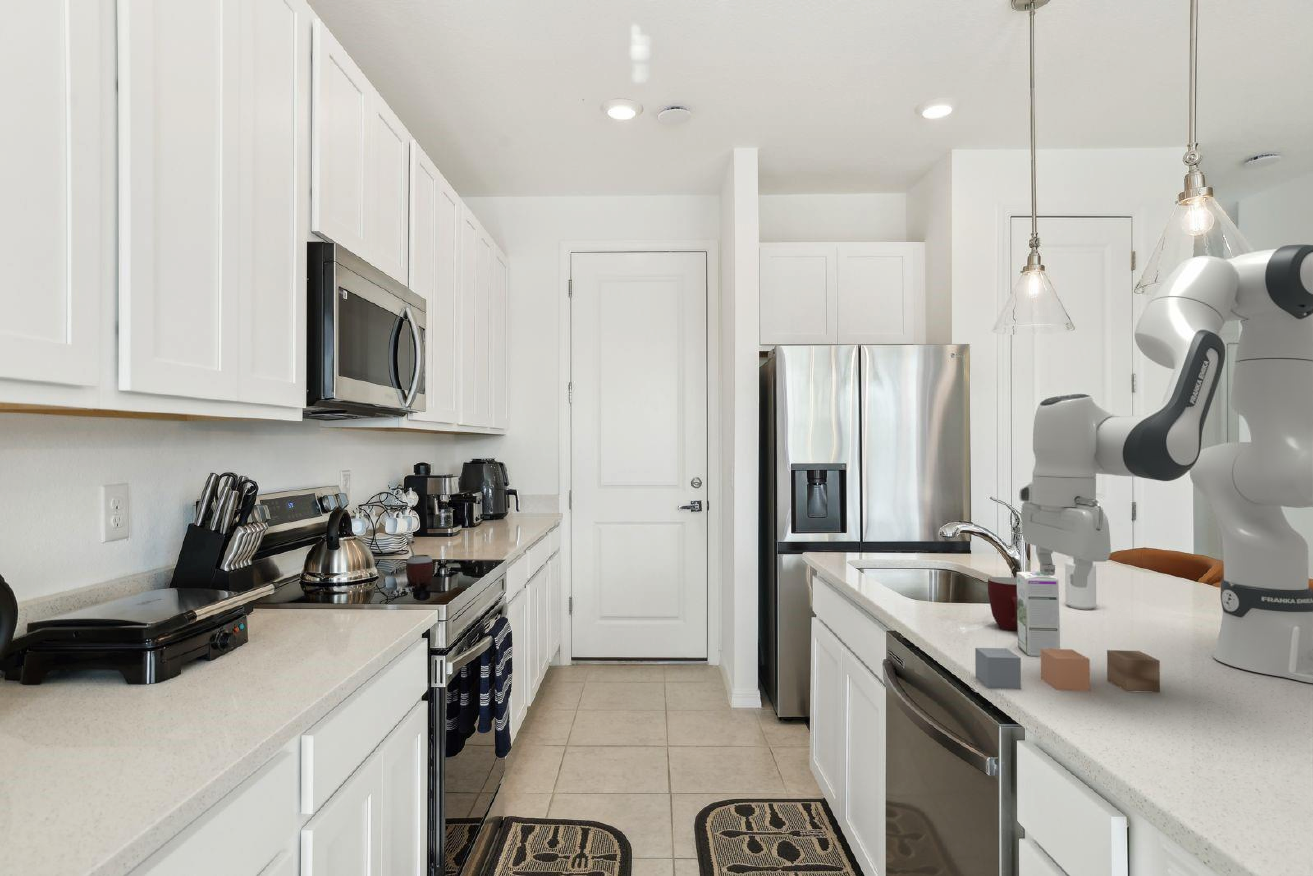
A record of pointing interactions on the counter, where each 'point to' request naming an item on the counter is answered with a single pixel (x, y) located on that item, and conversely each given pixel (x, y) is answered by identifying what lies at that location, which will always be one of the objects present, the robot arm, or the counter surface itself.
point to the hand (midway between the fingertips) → (1062, 580)
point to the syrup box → (1037, 612)
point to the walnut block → (1133, 670)
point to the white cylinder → (1077, 595)
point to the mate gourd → (418, 568)
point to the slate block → (998, 668)
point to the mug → (1004, 601)
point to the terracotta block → (1065, 669)
